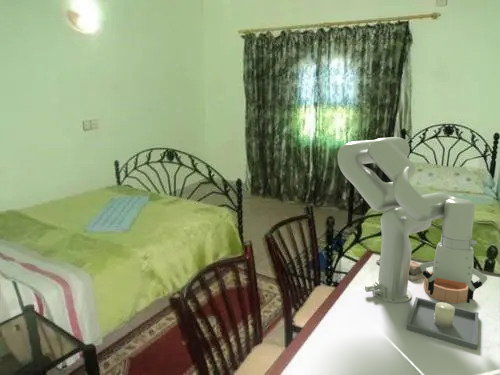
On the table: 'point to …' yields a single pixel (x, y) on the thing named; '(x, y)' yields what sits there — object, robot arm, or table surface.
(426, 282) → the bowl
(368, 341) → the table surface
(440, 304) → the egg
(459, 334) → the tray
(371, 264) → the table surface
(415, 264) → the packaged product
